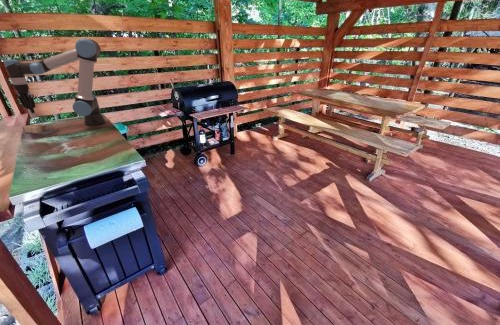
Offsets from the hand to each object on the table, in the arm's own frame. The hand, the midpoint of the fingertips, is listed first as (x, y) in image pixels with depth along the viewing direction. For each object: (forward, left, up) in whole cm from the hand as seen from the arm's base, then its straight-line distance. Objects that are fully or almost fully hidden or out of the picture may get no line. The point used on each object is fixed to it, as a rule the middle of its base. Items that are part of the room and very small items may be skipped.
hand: (33, 117), depth 173 cm
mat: (0, +2, -11) cm, 11 cm away
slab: (0, +3, -8) cm, 9 cm away
